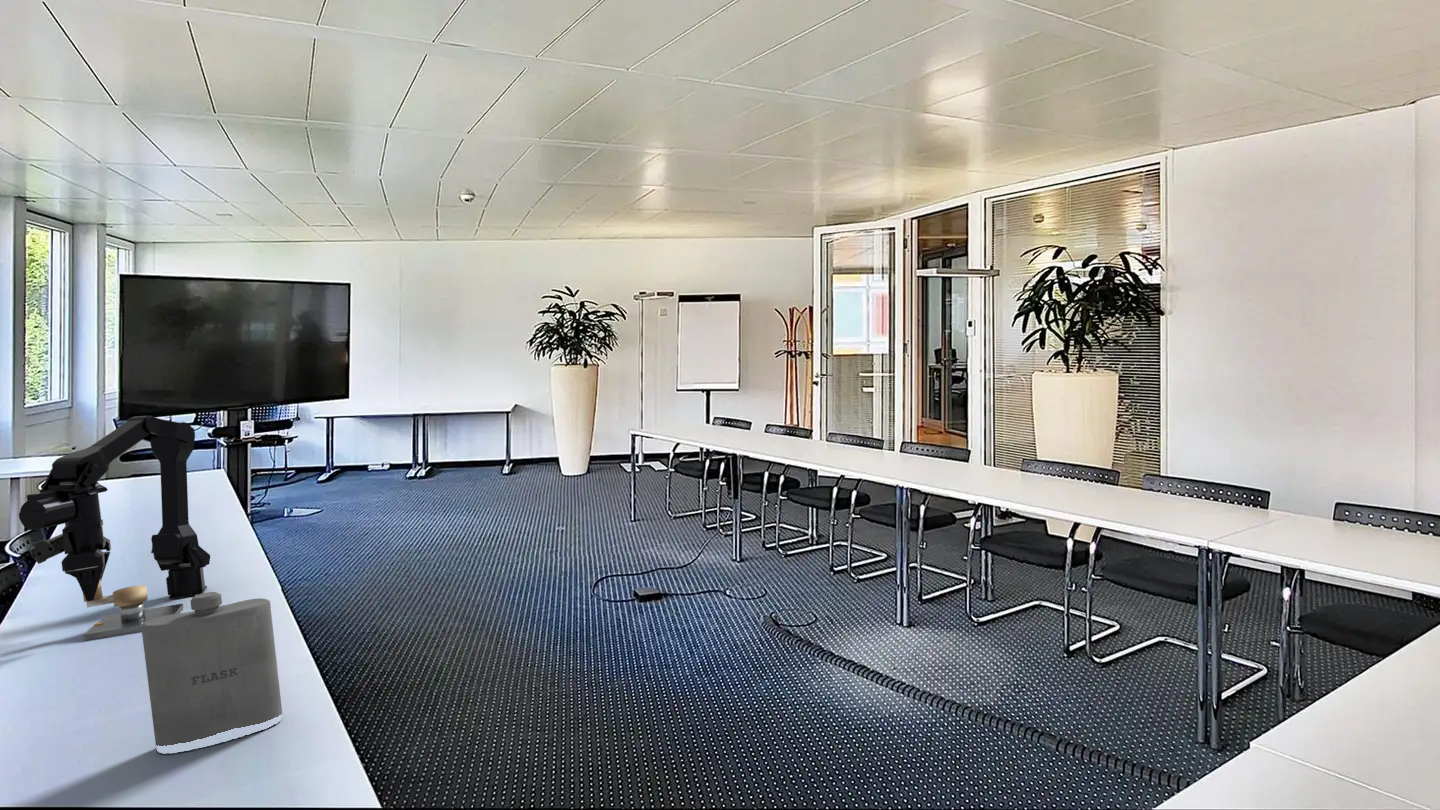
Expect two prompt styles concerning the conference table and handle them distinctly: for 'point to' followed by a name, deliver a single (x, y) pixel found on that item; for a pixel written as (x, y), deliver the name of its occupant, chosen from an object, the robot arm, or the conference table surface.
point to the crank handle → (119, 596)
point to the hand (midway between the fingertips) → (92, 595)
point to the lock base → (128, 626)
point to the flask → (211, 669)
